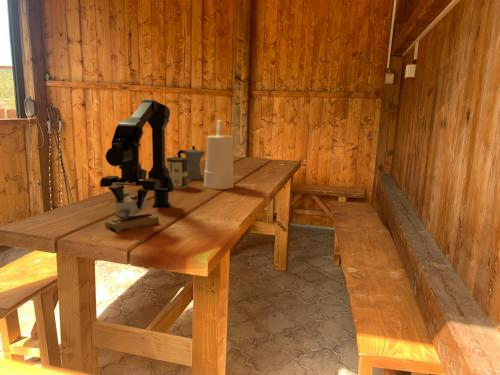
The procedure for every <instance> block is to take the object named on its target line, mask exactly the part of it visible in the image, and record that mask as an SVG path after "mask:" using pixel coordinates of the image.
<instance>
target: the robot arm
mask: <svg viewBox="0 0 500 375" xmlns="http://www.w3.org/2000/svg"><path fill="white" fill-rule="evenodd" d="M170 117H171V110H170V108H169V107H168V106H167V105H165V104H162V103H161V102H158V101H157V100H155V99H142V100H141V103H140V105H139V106H138V108H137V109H136V110H135V111H134V112H133V114H132V115H131V116H130V117H129V118H126V119H123V120H121V121H119V123H118V124H117V125H116V127H115V130H114V133H113V137H112V140H111V144H110V145H111V147H110V148H109V149H107V151H106V153H105V160H106V162H107V163H108V164H109V165H110V166H112V167H118V169H119V170H120V174H121V176H120V177H119V175H106V176H104V177H101V179H100V181H99V183H100V185H99V186H100V187H104V188H107V189H108V190H109V191H111V192H112V194H113V196H114V198H115V197H116V199H117V201H119V200H121V199H123V190H125V186H130V187H131V186H132V187H133V186H134V187H140V189H138V190H137V191H136V192H137V196H138V206H139V209H141V208H142V205H143V202H144V199H145V197H146V196H147V194H148V193H149V191H150V192H151V191H152V192H153V204H152V208H169V207H170V204H171V202H170V201H169V199H170V198H169V196H170V195H169V194H170V192H174V189H175V188H174V184H173V182H172V180H171V178H170V172H169V170H168V169H167V165H166V133H165V132H166V131H165V129H166V127H167V125H168V123H169V122H170ZM146 123H148V125H149V126H150V128H151V144H152V167H151V169H150V170H149V171H148V170H146V169H143V168H142V165H141V163H140V147H141V146H142V145H141V143H140V142H141V139H142V137H143V134H144V129H143V128H144V126H145V125H146Z"/></svg>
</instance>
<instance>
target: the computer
mask: <svg viewBox="0 0 500 375" xmlns="http://www.w3.org/2000/svg"><path fill="white" fill-rule="evenodd" d="M159 224H160V217H159V216H158V215H154V214H152V213H151V214H150V213H147V214H146V213H145V214H139V215H134V216H126V217H122V218H118V219H113V220H107V221H105V223H104V226H105V228H107V229H108V230H111V232H114V233H116V234H117V233H122V232H123V231H124V232H125V231H127V230H129V231H131V230H136V229H141V228H145V227H150V226H155V225H159Z"/></svg>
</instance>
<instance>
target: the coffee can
mask: <svg viewBox="0 0 500 375" xmlns="http://www.w3.org/2000/svg"><path fill="white" fill-rule="evenodd" d="M187 160H188V159H187V158H186V157H183V156H181V157H178V156H177V157H176V156H175V157H167V158H165V161H166V167H167V169H168V170H169V172H170V178H171V180H172V182H173V184H174V188H173V189H185V188H187V187H188V179H187Z"/></svg>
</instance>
